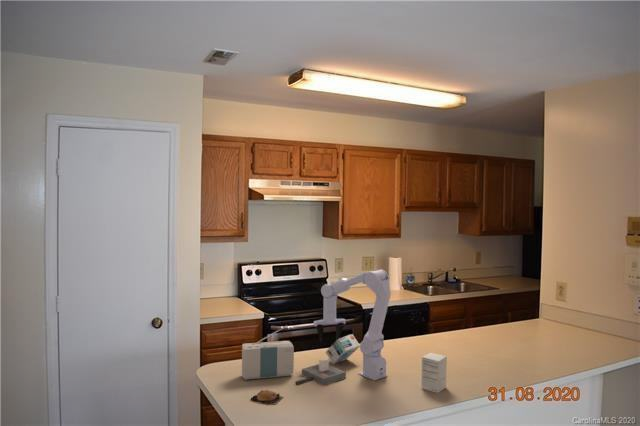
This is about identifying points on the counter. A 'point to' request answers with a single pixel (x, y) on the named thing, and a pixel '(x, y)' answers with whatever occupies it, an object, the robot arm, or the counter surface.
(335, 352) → the light bulb box
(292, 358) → the stereo radio cassette player
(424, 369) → the supplement box
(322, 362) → the breaker toggle
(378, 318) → the robot arm
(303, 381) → the power cord
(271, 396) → the bread roll
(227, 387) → the counter surface
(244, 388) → the counter surface
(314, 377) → the box
